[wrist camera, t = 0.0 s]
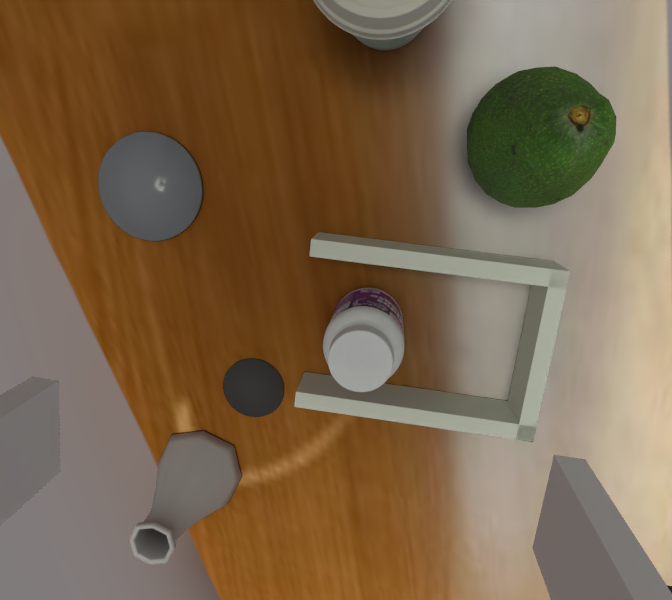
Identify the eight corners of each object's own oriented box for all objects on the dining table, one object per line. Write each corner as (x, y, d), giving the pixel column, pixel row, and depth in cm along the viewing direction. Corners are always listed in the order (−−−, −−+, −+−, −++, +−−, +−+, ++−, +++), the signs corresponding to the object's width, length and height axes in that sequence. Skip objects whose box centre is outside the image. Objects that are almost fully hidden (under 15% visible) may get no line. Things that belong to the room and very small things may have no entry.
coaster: (101, 126, 41) (98, 126, 41) (205, 138, 40) (203, 138, 40) (100, 233, 43) (98, 234, 43) (200, 246, 42) (198, 246, 42)
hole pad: (225, 354, 44) (225, 354, 44) (286, 363, 44) (286, 363, 44) (221, 411, 46) (221, 412, 45) (281, 420, 45) (281, 420, 45)
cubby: (318, 232, 41) (311, 239, 37) (553, 261, 40) (570, 271, 36) (303, 385, 44) (294, 406, 40) (520, 417, 43) (533, 442, 39)
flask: (162, 421, 46) (101, 488, 37) (246, 436, 46) (207, 509, 36) (157, 496, 48) (98, 579, 39) (238, 511, 48) (198, 599, 38)
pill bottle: (417, 310, 42) (423, 351, 33) (379, 365, 43) (374, 419, 34) (357, 272, 42) (346, 302, 32) (320, 328, 43) (300, 373, 34)
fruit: (434, 130, 39) (451, 114, 27) (534, 56, 37) (598, 6, 25) (497, 223, 40) (539, 248, 28) (597, 156, 38) (686, 152, 26)
